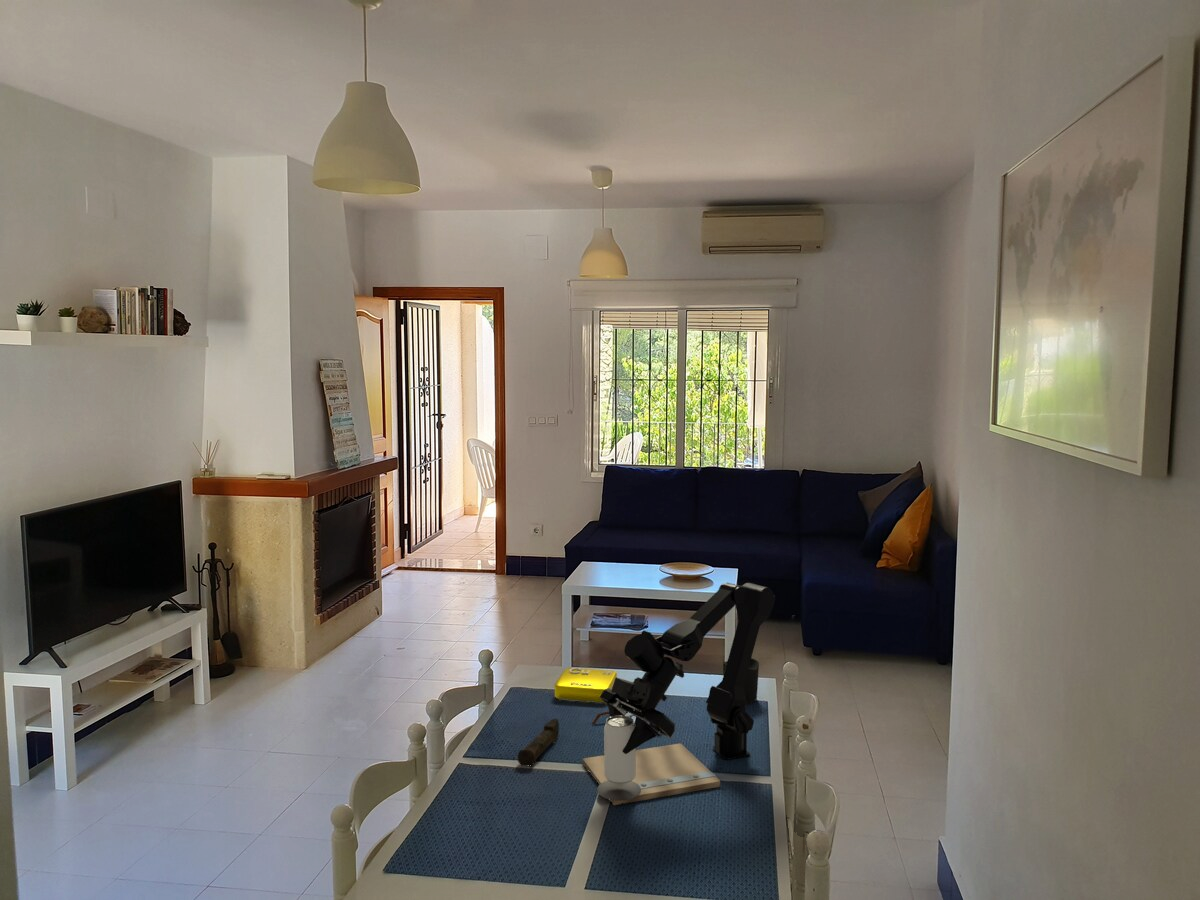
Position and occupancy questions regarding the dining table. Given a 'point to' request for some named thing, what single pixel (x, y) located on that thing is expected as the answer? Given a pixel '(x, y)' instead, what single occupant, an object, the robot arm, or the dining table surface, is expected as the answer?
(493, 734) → the dining table surface
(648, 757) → the subfloor panel
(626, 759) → the can
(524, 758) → the hand tool
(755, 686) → the pen holder
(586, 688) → the element tile
